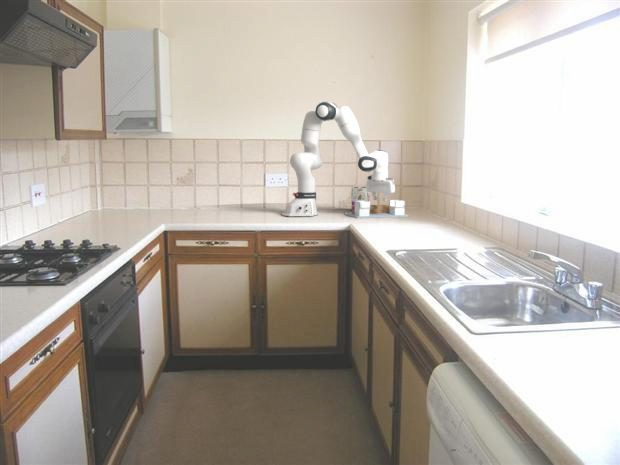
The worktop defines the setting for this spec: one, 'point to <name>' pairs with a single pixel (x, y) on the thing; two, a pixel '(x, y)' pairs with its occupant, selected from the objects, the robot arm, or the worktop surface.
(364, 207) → the grey base with supports
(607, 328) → the worktop surface
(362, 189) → the candy bar box
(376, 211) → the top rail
